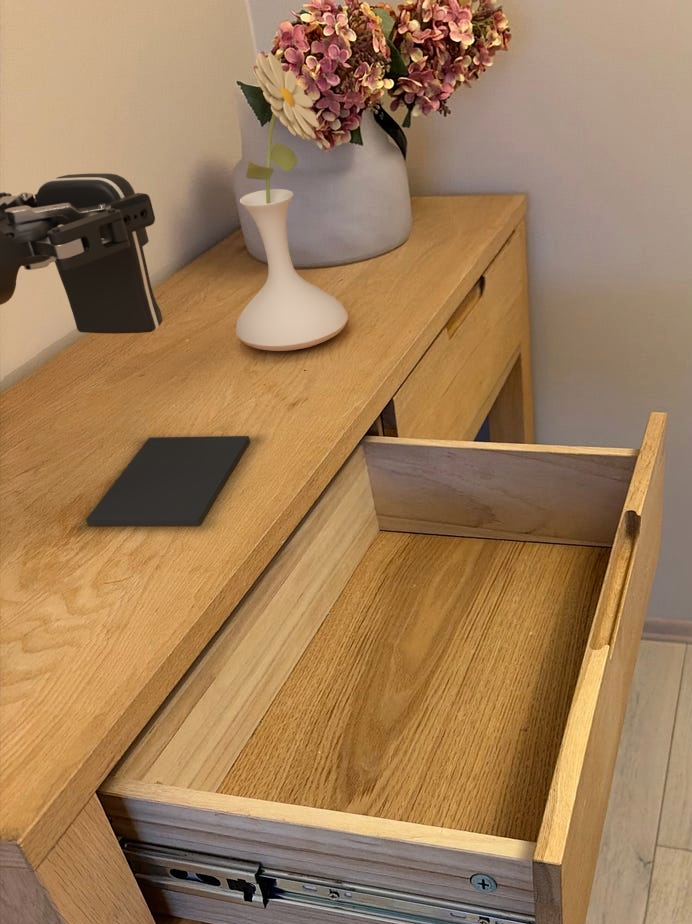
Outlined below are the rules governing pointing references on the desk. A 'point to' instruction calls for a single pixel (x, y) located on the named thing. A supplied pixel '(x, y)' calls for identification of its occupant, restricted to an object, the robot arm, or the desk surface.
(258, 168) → the flower in vase
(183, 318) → the desk surface
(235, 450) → the mat
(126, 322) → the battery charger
